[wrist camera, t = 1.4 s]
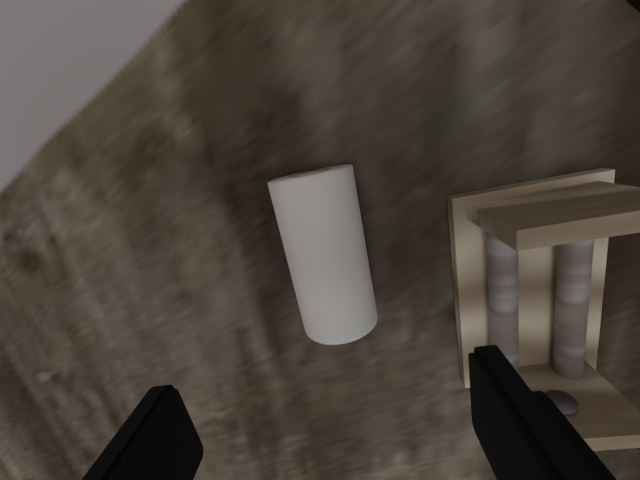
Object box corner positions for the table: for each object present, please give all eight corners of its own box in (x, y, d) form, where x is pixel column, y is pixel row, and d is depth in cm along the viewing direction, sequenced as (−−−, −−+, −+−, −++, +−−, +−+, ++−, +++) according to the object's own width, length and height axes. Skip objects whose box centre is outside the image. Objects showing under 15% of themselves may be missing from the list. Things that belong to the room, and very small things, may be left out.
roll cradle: (584, 365, 27) (677, 451, 20) (460, 378, 29) (502, 463, 21) (601, 167, 22) (736, 183, 14) (446, 195, 23) (496, 223, 16)
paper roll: (383, 302, 26) (369, 348, 21) (320, 301, 28) (292, 342, 23) (361, 159, 22) (336, 172, 17) (290, 172, 25) (249, 186, 19)
